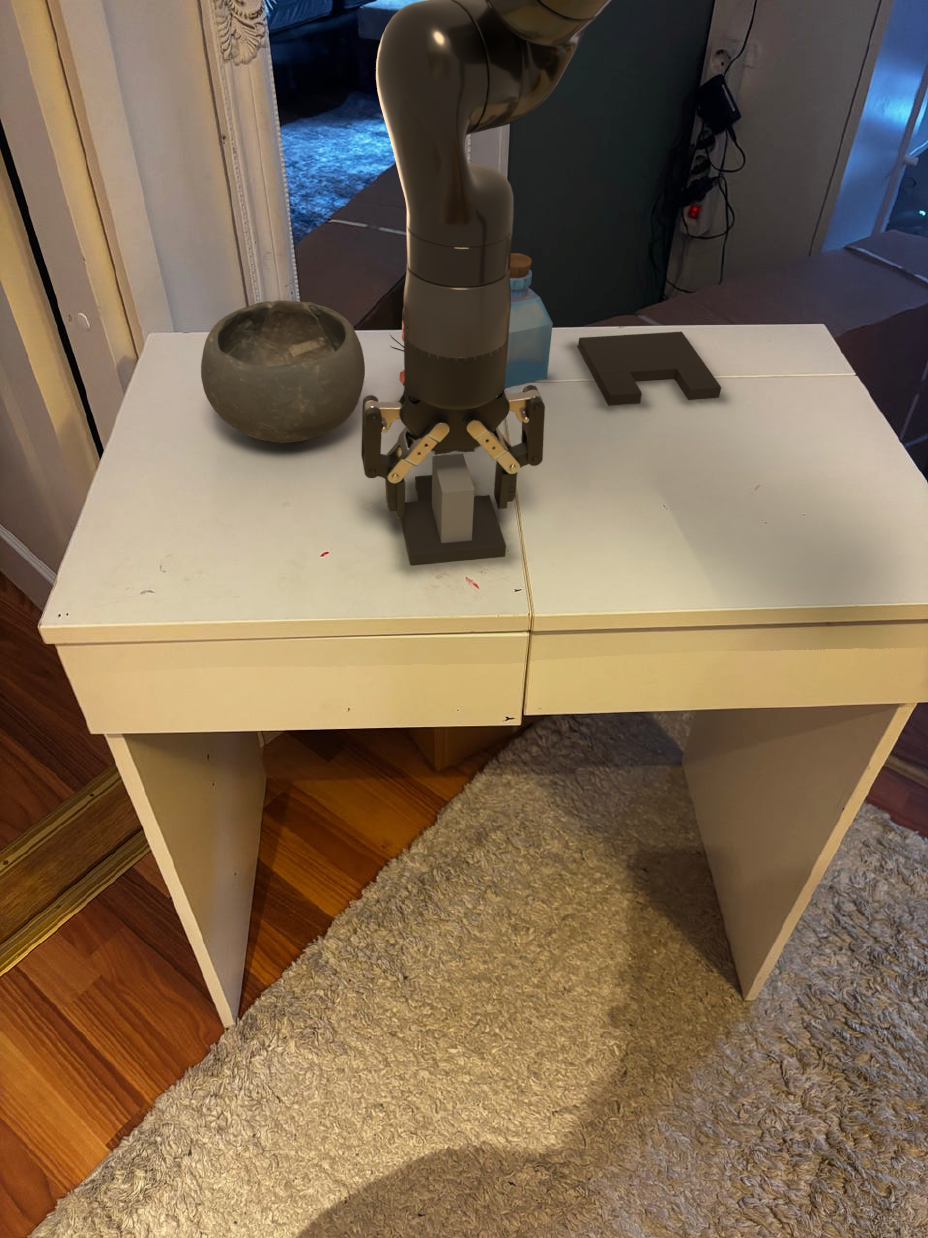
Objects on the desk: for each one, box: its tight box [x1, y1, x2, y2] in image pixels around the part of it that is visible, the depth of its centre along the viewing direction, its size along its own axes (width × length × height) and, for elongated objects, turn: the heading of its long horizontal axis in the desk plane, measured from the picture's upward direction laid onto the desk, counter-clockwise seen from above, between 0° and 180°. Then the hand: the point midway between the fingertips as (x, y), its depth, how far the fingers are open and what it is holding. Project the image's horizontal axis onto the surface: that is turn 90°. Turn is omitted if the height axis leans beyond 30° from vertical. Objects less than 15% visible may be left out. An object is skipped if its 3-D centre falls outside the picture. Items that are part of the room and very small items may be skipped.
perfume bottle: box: [505, 252, 554, 389], centre depth 95 cm, size 6×6×12 cm
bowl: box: [200, 299, 366, 444], centre depth 87 cm, size 15×15×10 cm
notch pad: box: [577, 331, 722, 406], centre depth 100 cm, size 12×12×1 cm
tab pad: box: [399, 453, 507, 566], centre depth 79 cm, size 8×11×6 cm
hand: (450, 507), depth 78 cm, fingers open, 8 cm apart
